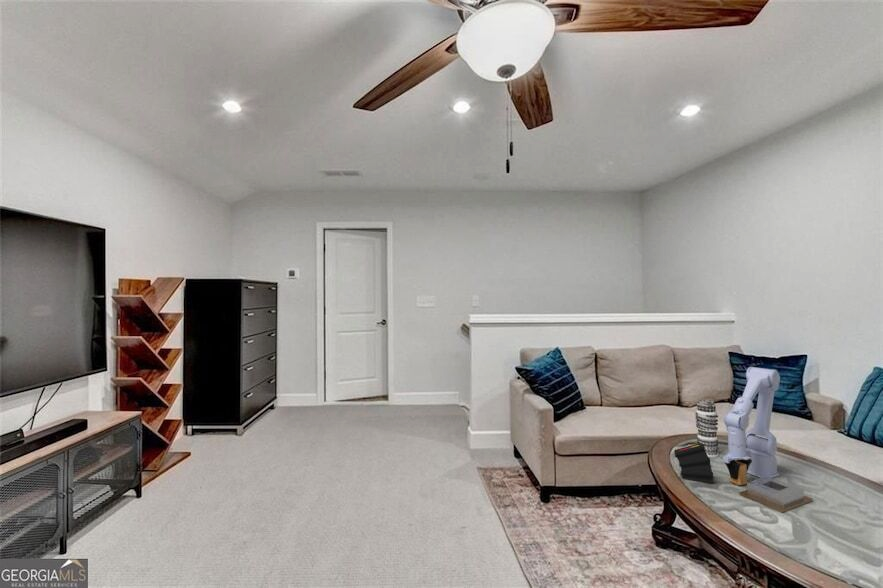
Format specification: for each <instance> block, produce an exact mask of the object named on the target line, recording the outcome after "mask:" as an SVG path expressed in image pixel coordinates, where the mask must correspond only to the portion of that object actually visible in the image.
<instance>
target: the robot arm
mask: <svg viewBox="0 0 883 588" xmlns="http://www.w3.org/2000/svg"><path fill="white" fill-rule="evenodd" d="M745 377H746V386H745V388H744V390H743V392H742V396H741V397H737V399H736V400H735V403H734V404H733V406H732V408H731V410H730V411H729V412H727V413H725V416H724V419H723V422H724V424H725V429H726V431H727V438H728V439H727V442H728V444H727V445H728V452H727V453H726V454H725V455H724V456H723V457H722V462H723V463H724V464H725V466H726V467H727V469H728V472H729V477H730V476H731V478H733V479H735V480H737V479H738V471H739V467H740V465H741V464H739V463H737V462H736V461H738V462H741V463H744V464H746V468H747V474H749V475H752V476H754V477H757V478H758V479H760V478H763V477H766V476H768V477H771V478H775V477H776V478H777V477H779V476H780V473H779V472H778V464H777V463H778V460H777V457H776V455H775V454H776V453H777V450H778V446H777V437H776V436H775V435H774V434H773V433H772V432H771V431H770V426H771V418H772V411H773V404H774V398H775V392H777V391H779V388H780V381H781V376H780V374H779V372H778V370H777V369H771V368H770V369H769V368H763V367H756V366H755V367H754V366H749V367H748V368H747V369H746V372H745ZM757 394H758V398H757V403H756V411H755V417H754V418H755V419H754V424H753V427H752V428H749V429H748V427H749V424H750V417H749V416H750V415H751V412H752V410H753V408H754V403H753V401H754V399H755V397H756V396H757Z"/></svg>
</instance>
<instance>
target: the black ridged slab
mask: <svg viewBox="0 0 883 588" xmlns="http://www.w3.org/2000/svg"><path fill="white" fill-rule="evenodd" d="M673 453H674V457H675V458H677V461H678V463H679V465H678V466H679V467H680V476H681V479H683V480H686V481H687V480H688V481H693V482H700V483H704V484H712V485H713V484H714V480H713V479H714V472H713V471H712V465H711V457H708V456H707V453H706V451H705V447H704V445H702V444H701V443H699V444H698V443H696V444H692V445H689V446H685V447H681V448H677V449H674V451H673Z"/></svg>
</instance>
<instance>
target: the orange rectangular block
mask: <svg viewBox="0 0 883 588" xmlns="http://www.w3.org/2000/svg"><path fill="white" fill-rule="evenodd" d="M736 462H737V463H739V464H741V465H740V467H739V471H738V479H737V480H735V479H733V478H731V476H730V475H729V482H731V483H734V485H736V486H738V485H739V486H743V485H747V482H748V478H747V477H748V473H747V468H746V464H744V463H741V462H738V461H736Z"/></svg>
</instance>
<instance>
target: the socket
mask: <svg viewBox="0 0 883 588" xmlns="http://www.w3.org/2000/svg"><path fill="white" fill-rule="evenodd" d="M739 496H740V497H741V496H742V497H743V498H745V499H748V500H751V501H752V502H753V501H754V502H756V503H758V504H760V505H762V506H765V507H767V508H770V509H772V510H775V511H777V512H779V513H781V514H782V513H785V512H788V511H790V510H793V509H797V508H799V507H800V506H803V504H804V505H806V504H809V503H811V502H814V501H813V498H812V497H809V496H807V495H805V489H804V488H801V487H798V486H796V485H794V484H793V485H792V484H790V483H787V482H785V481H782V480H779V479H776V478H775V477H773V478H771V477H768V476H766V477H763V478H757V479H754V480H750V481H747V483H746V489H745V490H742V491H740V492H739ZM798 506H799V507H798Z"/></svg>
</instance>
